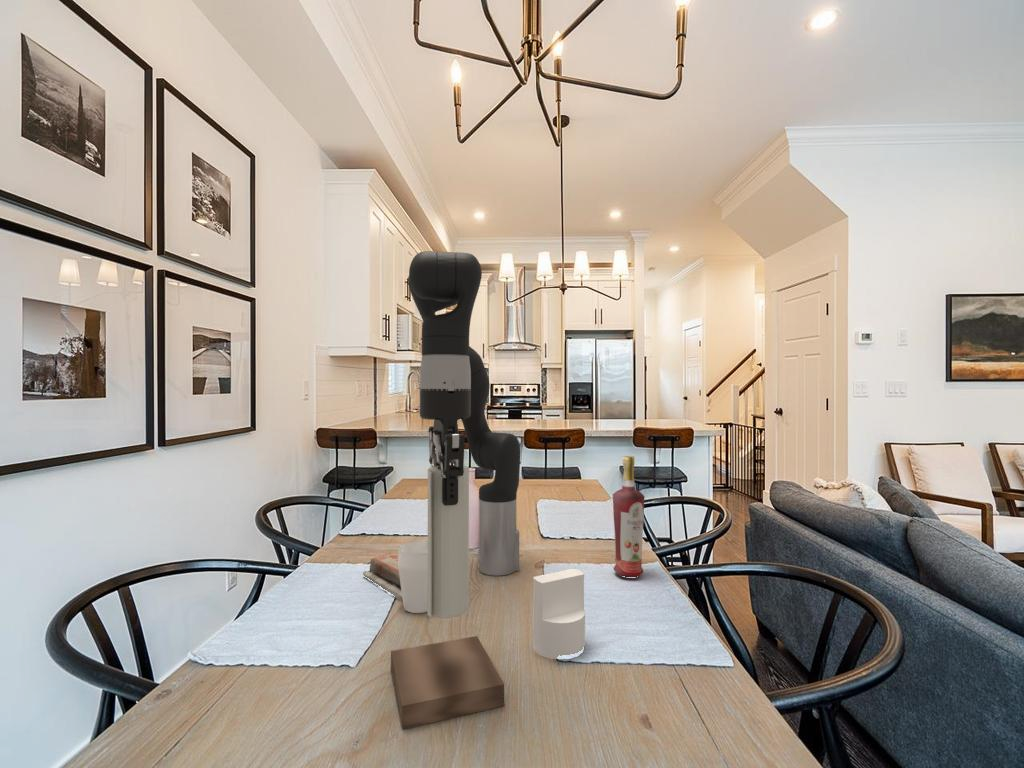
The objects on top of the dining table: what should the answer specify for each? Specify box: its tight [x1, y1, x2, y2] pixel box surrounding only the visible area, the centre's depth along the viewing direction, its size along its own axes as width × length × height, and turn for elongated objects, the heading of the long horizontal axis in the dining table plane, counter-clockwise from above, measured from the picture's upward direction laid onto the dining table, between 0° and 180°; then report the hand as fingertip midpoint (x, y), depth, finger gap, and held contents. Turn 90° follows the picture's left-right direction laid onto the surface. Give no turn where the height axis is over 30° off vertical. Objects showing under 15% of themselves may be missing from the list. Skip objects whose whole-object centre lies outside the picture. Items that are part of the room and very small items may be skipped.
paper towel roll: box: [427, 464, 470, 625], centre depth 73 cm, size 7×6×21 cm
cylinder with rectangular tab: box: [532, 568, 586, 660], centre depth 84 cm, size 9×9×12 cm
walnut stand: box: [390, 635, 505, 730], centre depth 72 cm, size 14×14×3 cm
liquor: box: [612, 455, 645, 577], centre depth 116 cm, size 7×7×28 cm
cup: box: [397, 539, 428, 614], centre depth 99 cm, size 9×9×12 cm
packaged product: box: [362, 553, 403, 602], centre depth 111 cm, size 18×5×10 cm
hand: (445, 499), depth 73 cm, fingers closed on paper towel roll, 6 cm apart
